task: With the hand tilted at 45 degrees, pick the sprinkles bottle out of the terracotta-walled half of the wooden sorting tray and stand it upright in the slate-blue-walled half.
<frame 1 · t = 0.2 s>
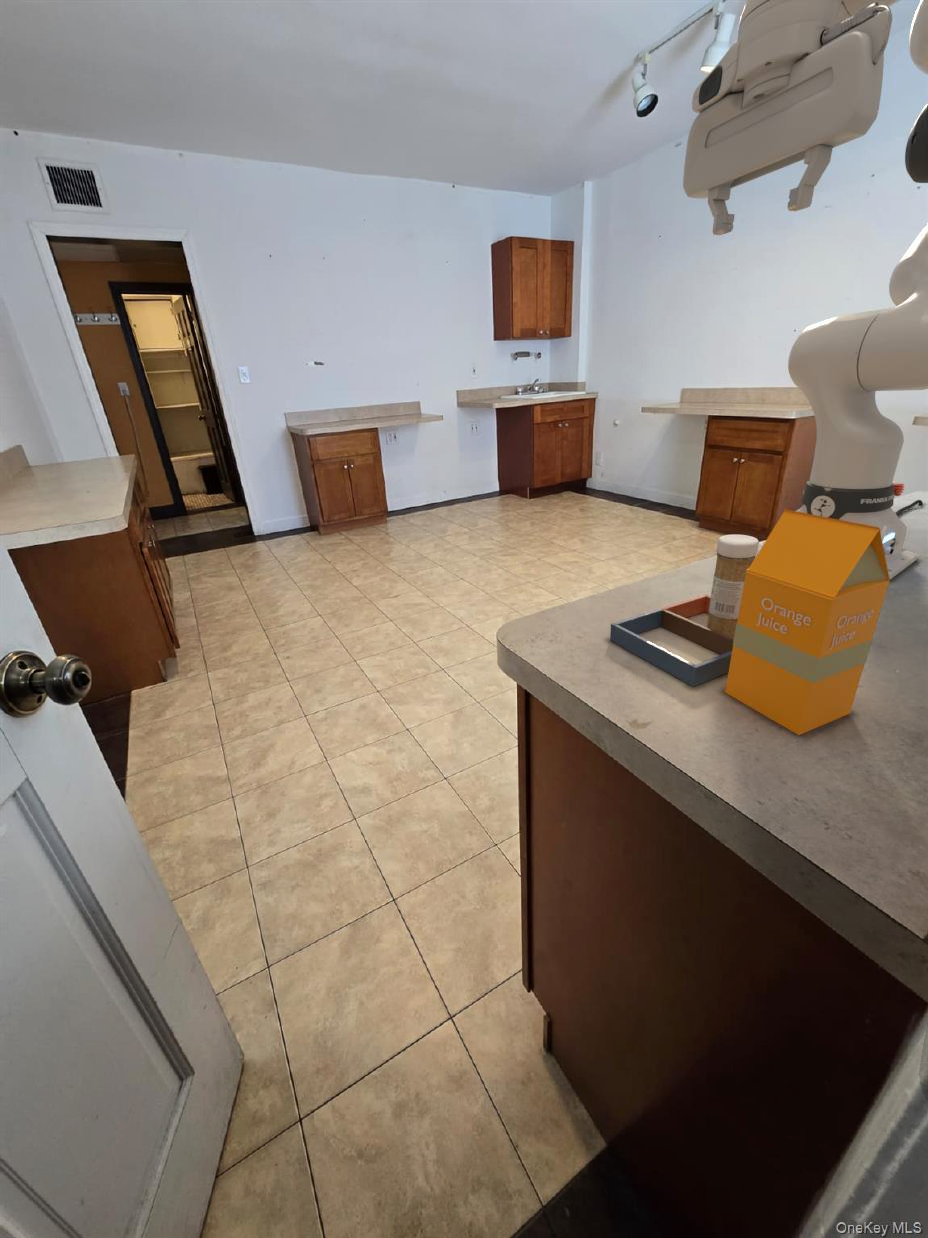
hand: (757, 222, 58), 48 cm above the countertop, tool pointing down, fingers open, 8 cm apart
orange juice: (784, 704, 55), on the countertop
sprinkles bottle: (722, 635, 69), resting in sorting tray
sorting tray: (699, 643, 68), on the countertop
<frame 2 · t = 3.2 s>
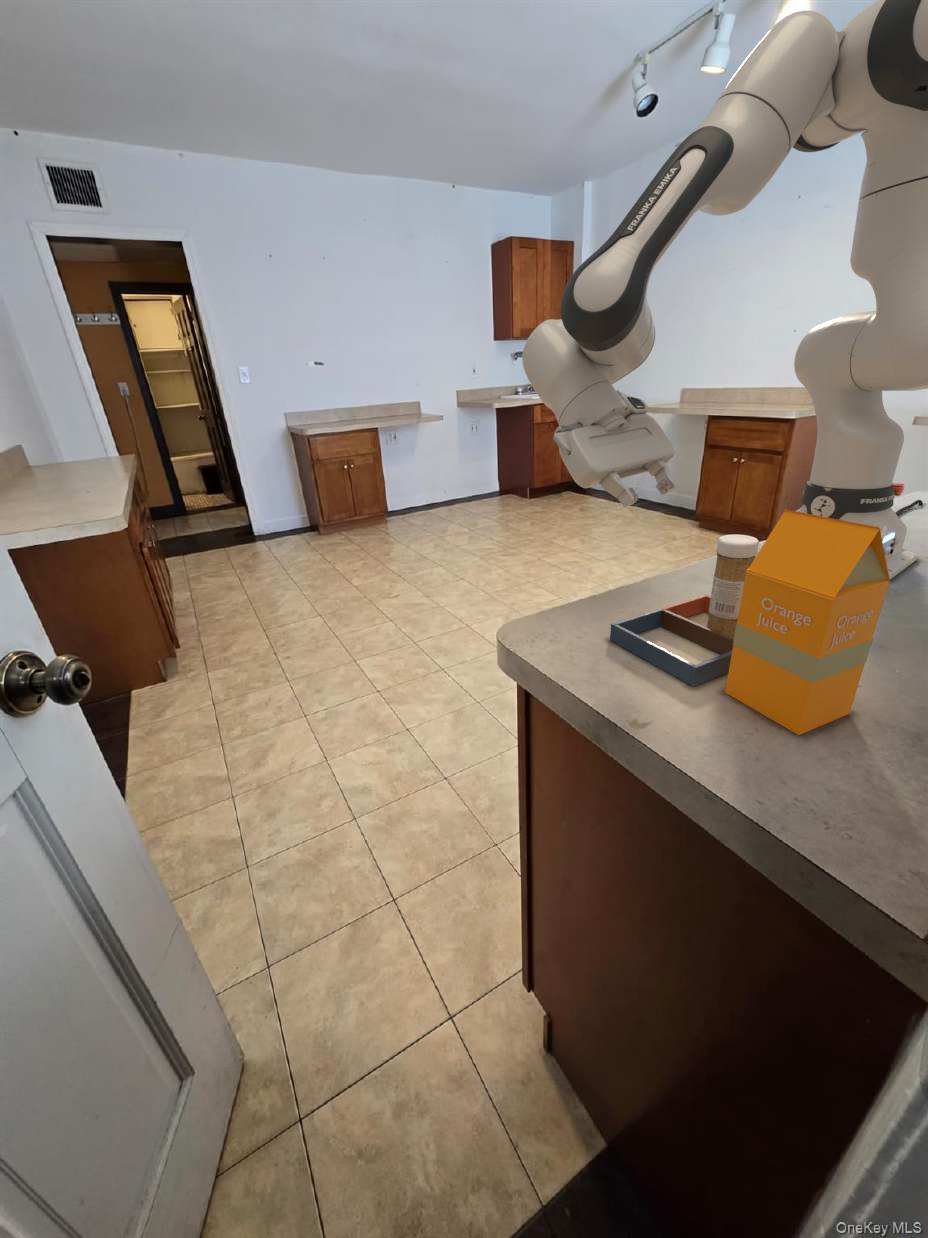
hand: (651, 496, 71), 17 cm above the countertop, tool tilted 45°, fingers open, 8 cm apart
nothing on the countertop moved.
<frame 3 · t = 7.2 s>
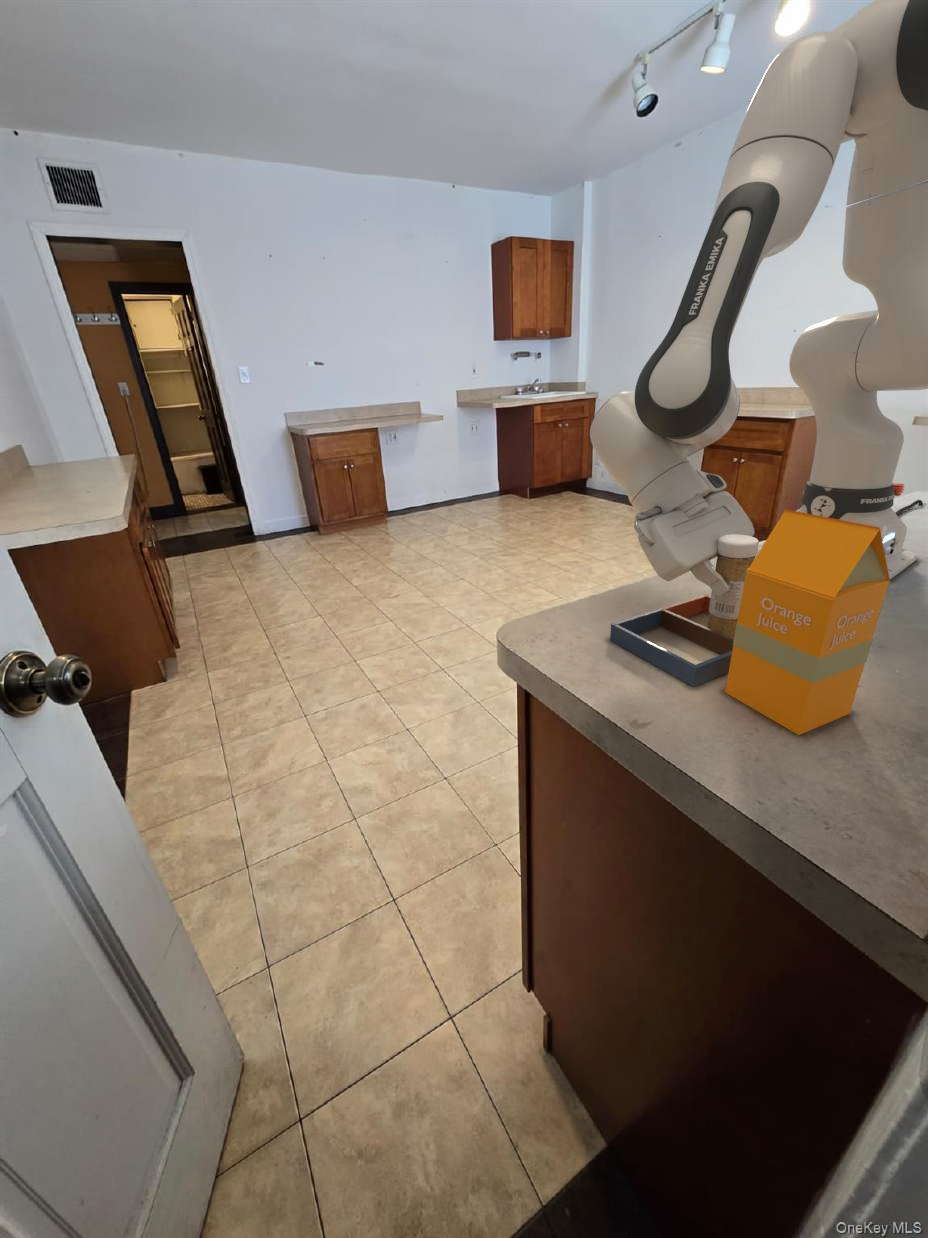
hand: (736, 586, 66), 7 cm above the countertop, tool tilted 45°, fingers closed on sprinkles bottle, 4 cm apart
sprinkles bottle: (722, 635, 69), resting in sorting tray, touching gripper
everything else where it was.
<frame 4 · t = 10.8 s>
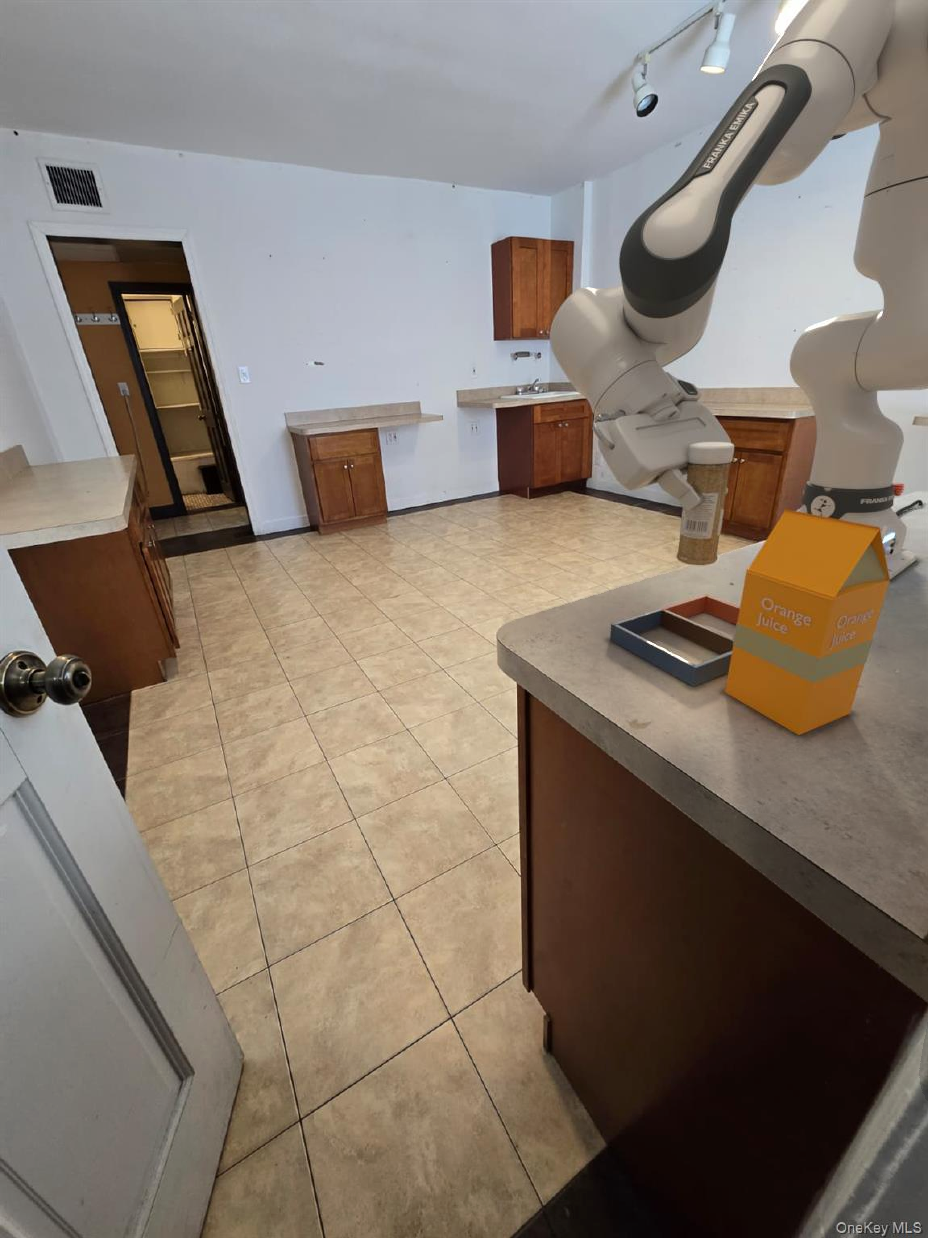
hand: (709, 501, 58), 19 cm above the countertop, tool tilted 45°, fingers closed on sprinkles bottle, 4 cm apart
sprinkles bottle: (695, 562, 62), point 12 cm above the countertop, touching gripper
everything else where it was.
when the fingers open (7 cm above the countertop, at t = 14.6 s): sprinkles bottle stays where it is, resting in sorting tray.
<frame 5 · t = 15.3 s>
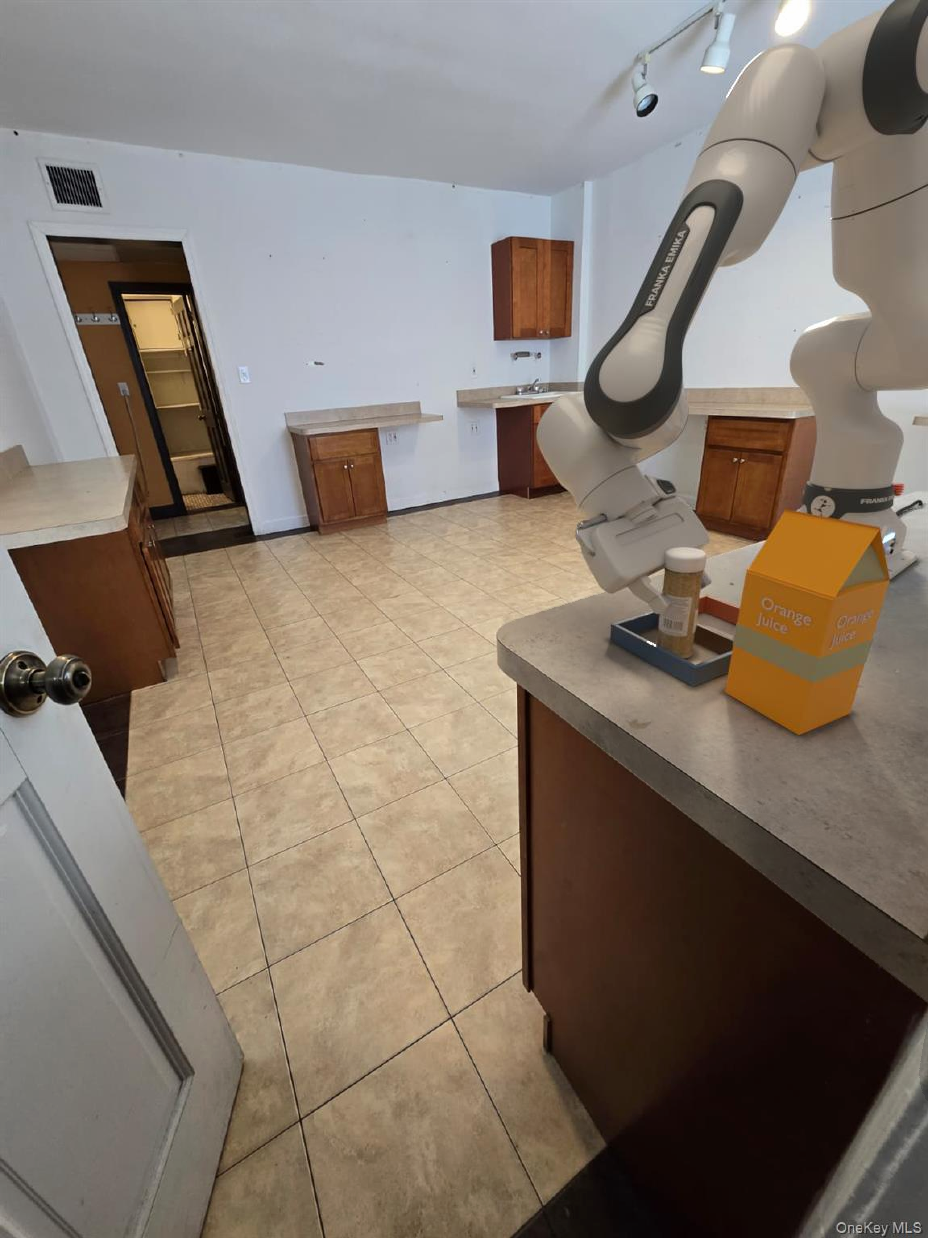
hand: (685, 598, 62), 8 cm above the countertop, tool tilted 45°, fingers open, 8 cm apart
sprinkles bottle: (673, 653, 66), resting in sorting tray
everything else where it was.
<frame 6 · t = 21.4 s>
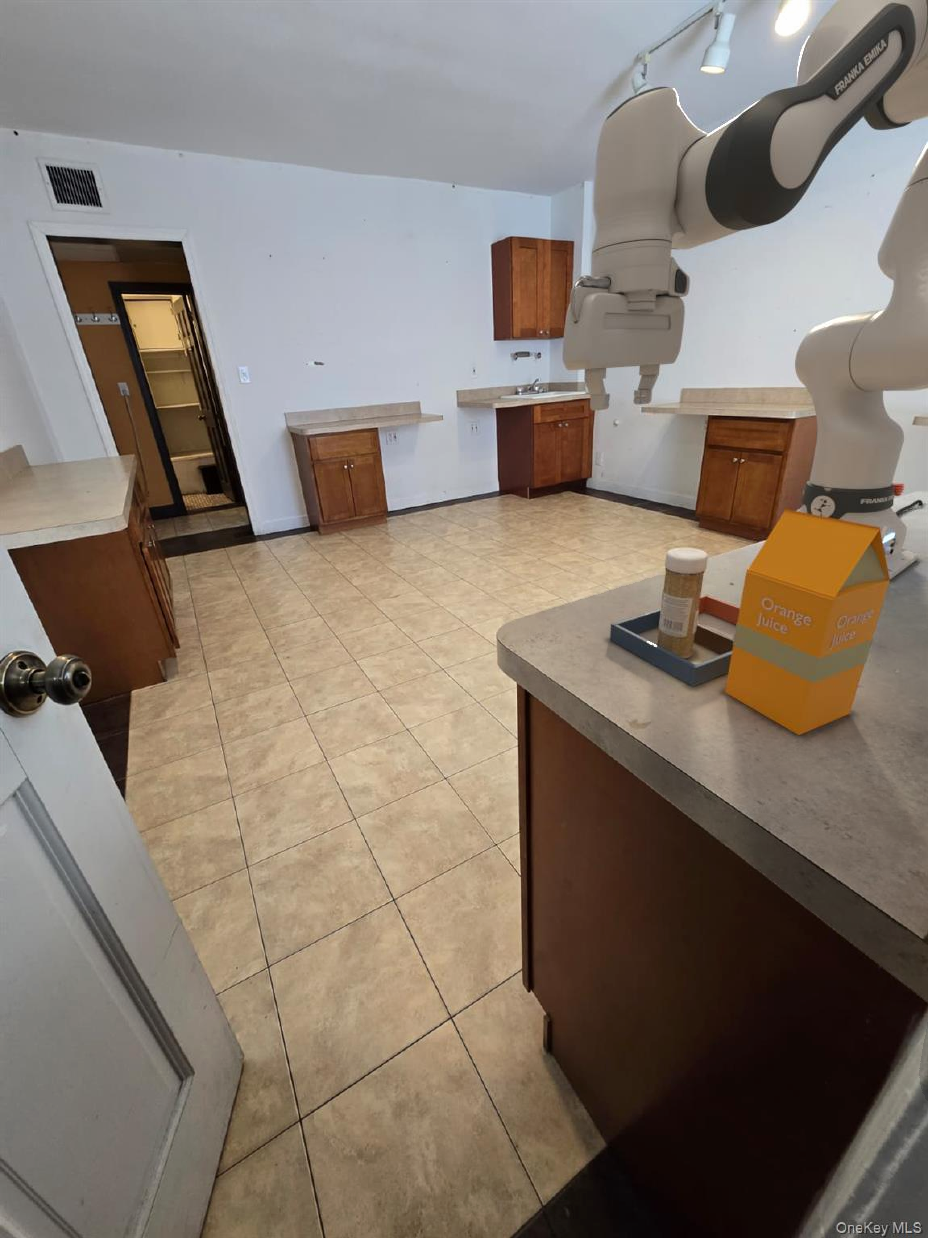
hand: (621, 406, 66), 29 cm above the countertop, tool pointing down, fingers open, 8 cm apart
nothing on the countertop moved.
at the end: sprinkles bottle inside the target area (0.1 cm from its centre), resting in sorting tray; sprinkles bottle tilted 1°; the gripper is holding nothing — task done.
